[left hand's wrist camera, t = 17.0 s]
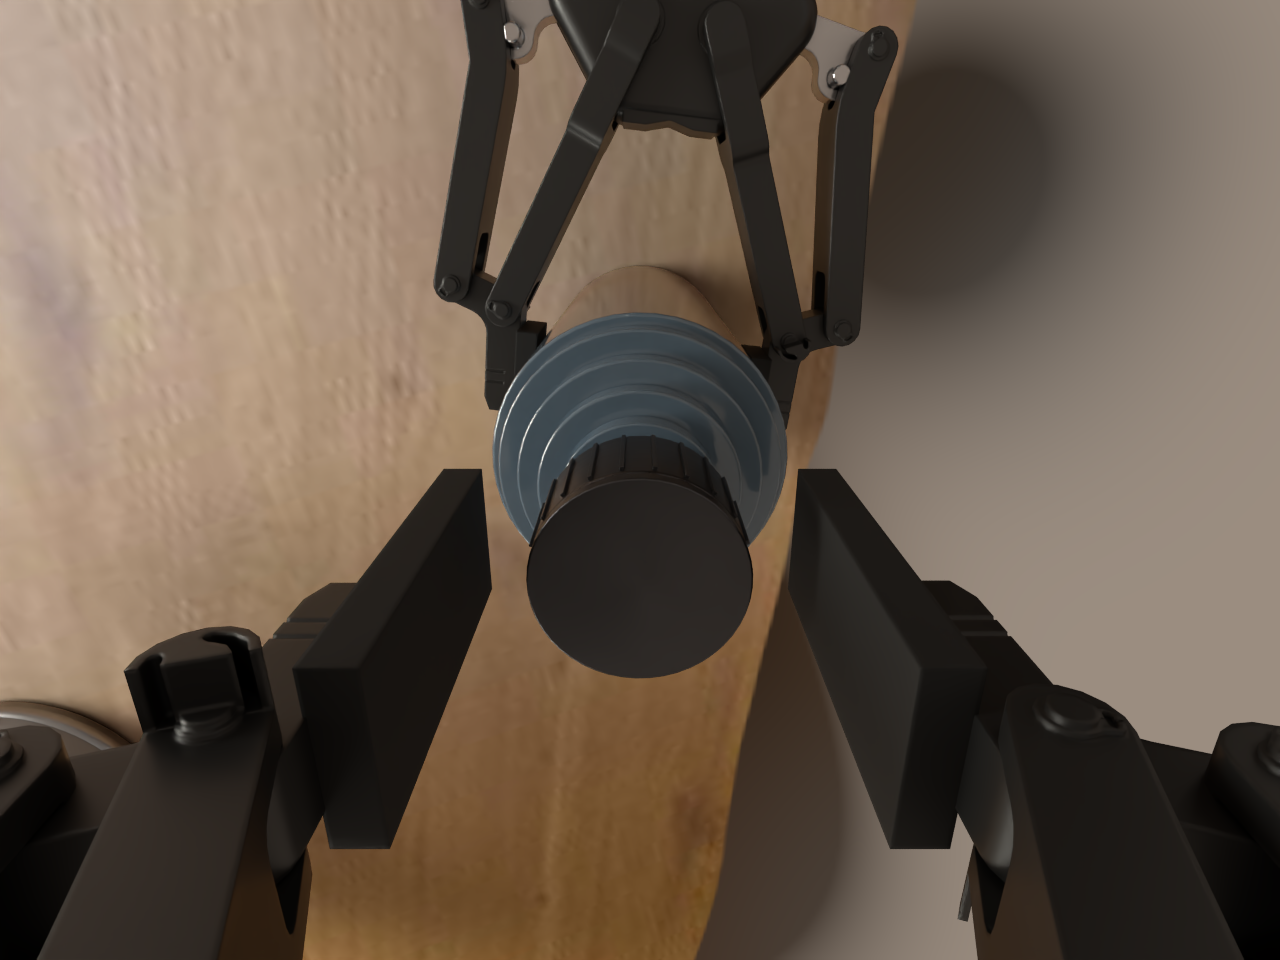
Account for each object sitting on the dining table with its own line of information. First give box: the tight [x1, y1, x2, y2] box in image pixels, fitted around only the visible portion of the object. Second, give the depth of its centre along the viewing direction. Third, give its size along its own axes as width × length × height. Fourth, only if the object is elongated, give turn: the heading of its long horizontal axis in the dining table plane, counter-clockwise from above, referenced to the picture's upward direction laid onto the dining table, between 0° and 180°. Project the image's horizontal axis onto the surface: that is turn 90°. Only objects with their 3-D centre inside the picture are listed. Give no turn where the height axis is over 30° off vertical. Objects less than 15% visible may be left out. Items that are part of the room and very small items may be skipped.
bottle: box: [492, 266, 787, 547], centre depth 23 cm, size 8×8×22 cm
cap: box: [526, 435, 753, 678], centre depth 13 cm, size 4×4×2 cm
